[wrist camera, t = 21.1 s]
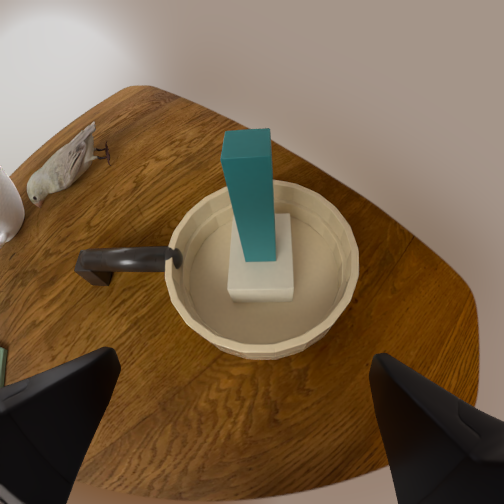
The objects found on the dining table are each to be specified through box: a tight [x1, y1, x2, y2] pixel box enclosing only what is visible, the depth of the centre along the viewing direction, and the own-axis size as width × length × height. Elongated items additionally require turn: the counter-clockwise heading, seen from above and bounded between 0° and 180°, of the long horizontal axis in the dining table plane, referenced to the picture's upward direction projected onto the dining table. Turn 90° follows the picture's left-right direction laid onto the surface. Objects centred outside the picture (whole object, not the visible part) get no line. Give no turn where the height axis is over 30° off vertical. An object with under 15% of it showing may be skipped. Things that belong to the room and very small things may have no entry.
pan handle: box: [74, 246, 183, 286], centre depth 24 cm, size 2×12×5 cm, turn 88°
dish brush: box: [221, 128, 294, 303], centre depth 19 cm, size 7×5×14 cm
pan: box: [165, 180, 359, 360], centre depth 23 cm, size 15×15×4 cm
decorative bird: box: [27, 122, 111, 208], centre depth 32 cm, size 5×16×8 cm, turn 121°
